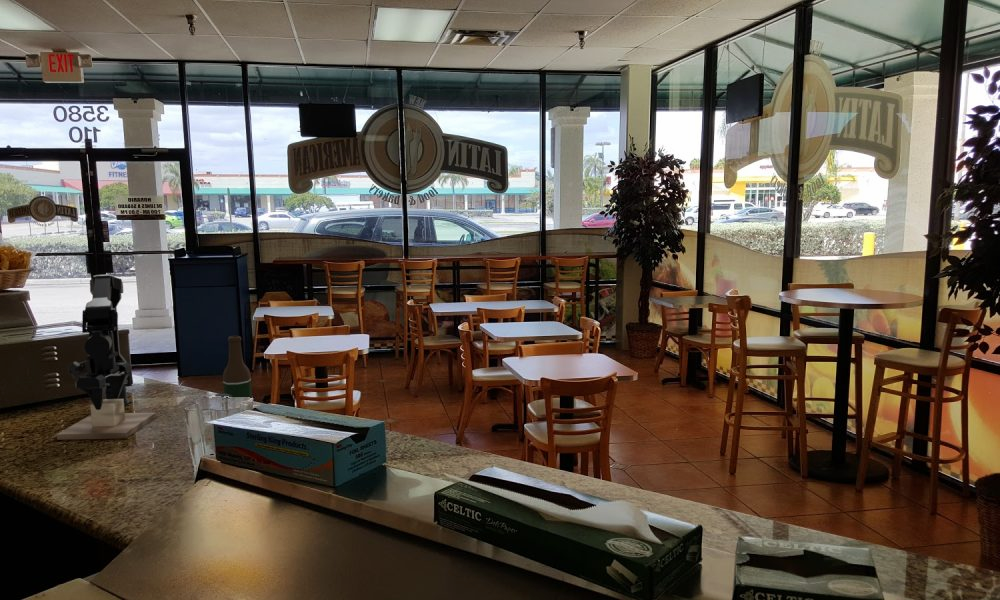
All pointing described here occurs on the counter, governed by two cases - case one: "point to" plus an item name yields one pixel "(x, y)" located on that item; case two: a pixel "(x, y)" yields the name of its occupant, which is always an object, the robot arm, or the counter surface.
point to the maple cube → (108, 413)
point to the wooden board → (107, 428)
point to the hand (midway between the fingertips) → (107, 404)
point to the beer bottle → (236, 371)
